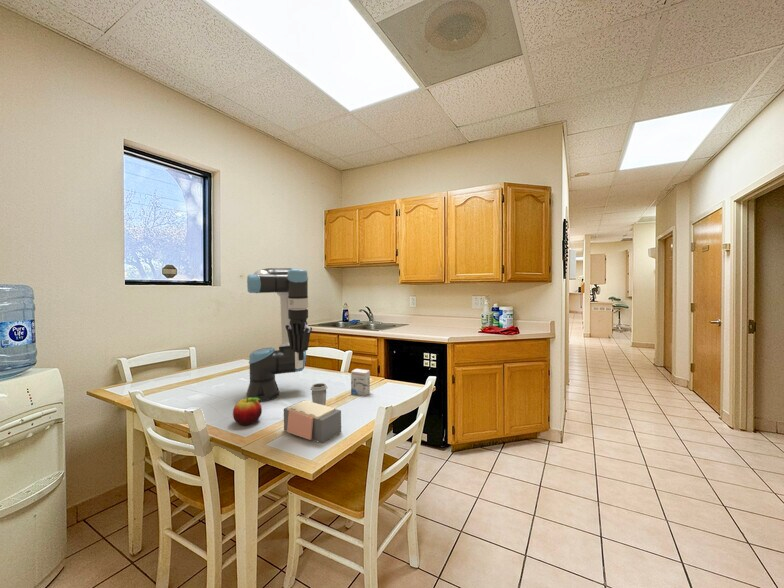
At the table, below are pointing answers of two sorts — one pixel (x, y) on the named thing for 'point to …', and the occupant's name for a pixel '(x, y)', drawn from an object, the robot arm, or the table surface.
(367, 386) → the ink box
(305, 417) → the pink rectangular panel
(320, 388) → the cup
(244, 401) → the fruit
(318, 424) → the block
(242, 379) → the table surface
